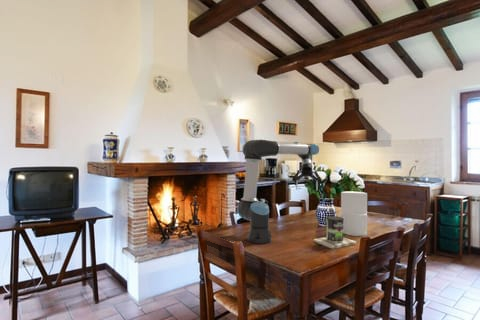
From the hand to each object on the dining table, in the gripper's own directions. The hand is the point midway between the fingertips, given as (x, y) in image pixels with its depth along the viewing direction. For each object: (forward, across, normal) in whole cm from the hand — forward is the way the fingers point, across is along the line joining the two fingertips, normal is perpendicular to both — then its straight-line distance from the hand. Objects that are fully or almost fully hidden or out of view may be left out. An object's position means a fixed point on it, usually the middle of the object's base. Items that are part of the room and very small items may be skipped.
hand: (306, 188), depth 201 cm
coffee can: (+33, -17, -10) cm, 38 cm away
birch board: (+34, -17, -10) cm, 39 cm away
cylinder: (+13, -33, -31) cm, 47 cm away
